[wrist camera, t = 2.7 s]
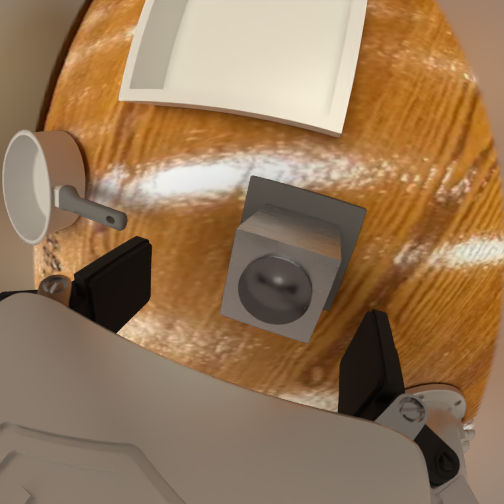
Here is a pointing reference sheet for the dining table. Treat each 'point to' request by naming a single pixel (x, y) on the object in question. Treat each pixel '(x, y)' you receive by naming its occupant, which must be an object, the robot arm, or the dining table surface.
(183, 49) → the bin
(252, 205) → the ball stud
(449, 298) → the dining table surface
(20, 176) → the saucepan
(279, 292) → the metal block
